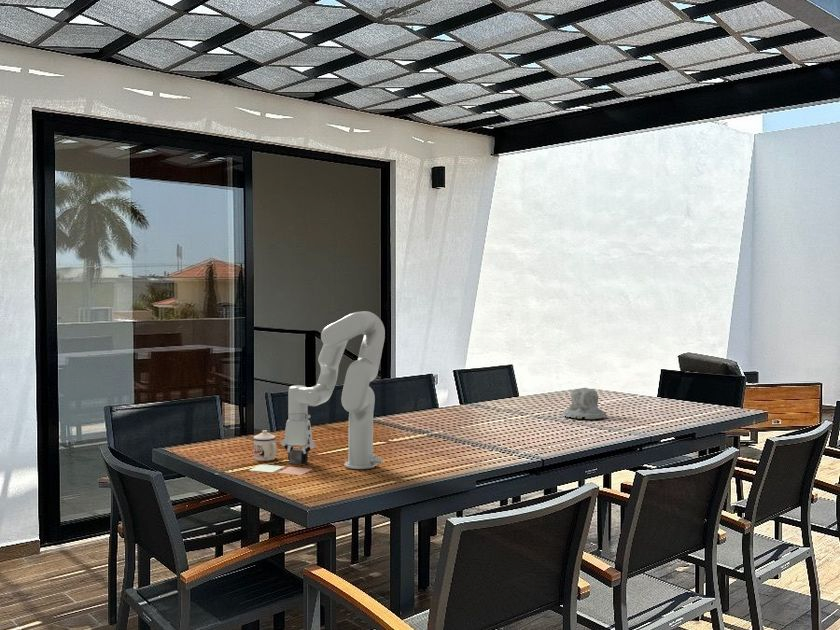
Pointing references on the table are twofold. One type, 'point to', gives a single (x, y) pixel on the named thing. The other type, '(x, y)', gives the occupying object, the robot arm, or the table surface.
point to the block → (295, 456)
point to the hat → (584, 405)
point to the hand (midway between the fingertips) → (297, 462)
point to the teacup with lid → (264, 446)
